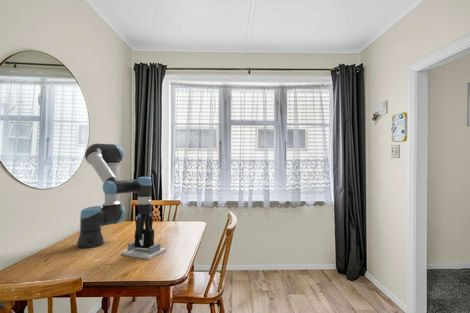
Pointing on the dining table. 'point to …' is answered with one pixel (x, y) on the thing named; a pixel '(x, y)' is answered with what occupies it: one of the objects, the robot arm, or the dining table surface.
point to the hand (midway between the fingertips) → (144, 244)
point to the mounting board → (143, 251)
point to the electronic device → (145, 239)
